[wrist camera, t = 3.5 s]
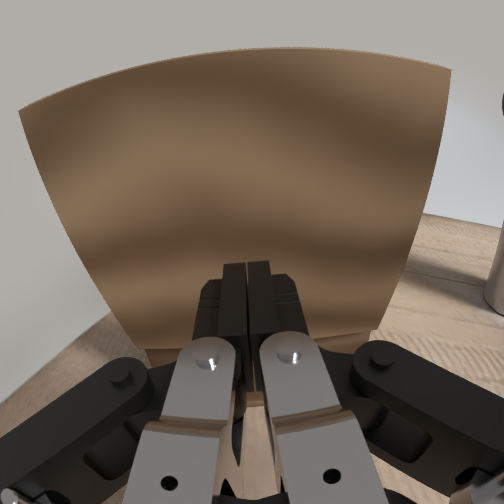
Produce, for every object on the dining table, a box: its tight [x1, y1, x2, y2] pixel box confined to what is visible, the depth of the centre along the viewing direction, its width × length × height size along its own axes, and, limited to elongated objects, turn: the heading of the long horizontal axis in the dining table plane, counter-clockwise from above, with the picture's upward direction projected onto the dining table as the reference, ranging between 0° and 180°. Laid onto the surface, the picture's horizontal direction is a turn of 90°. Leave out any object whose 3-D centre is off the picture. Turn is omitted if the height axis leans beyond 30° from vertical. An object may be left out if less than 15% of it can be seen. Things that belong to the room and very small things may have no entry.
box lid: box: [19, 47, 451, 349], centre depth 15 cm, size 18×18×1 cm
